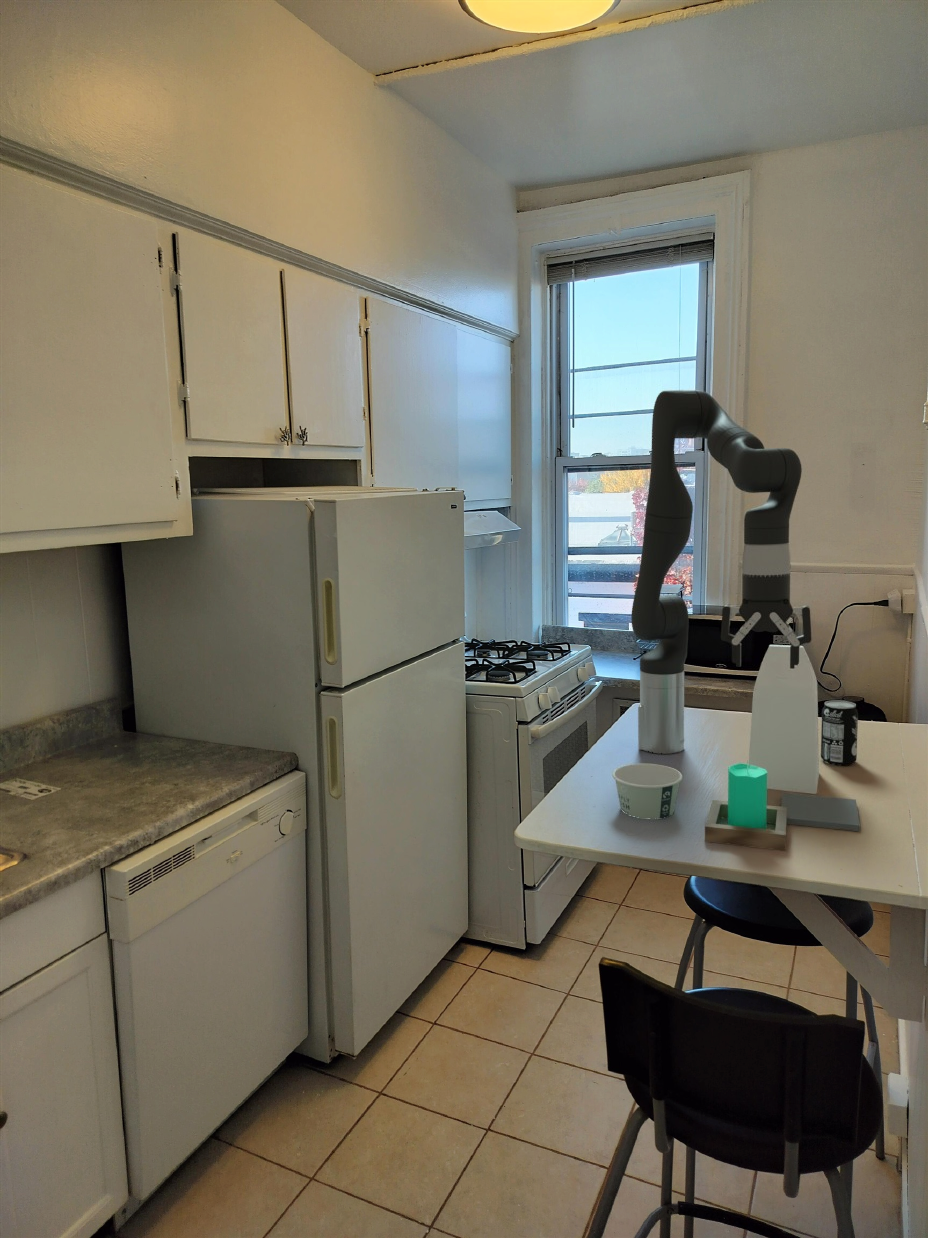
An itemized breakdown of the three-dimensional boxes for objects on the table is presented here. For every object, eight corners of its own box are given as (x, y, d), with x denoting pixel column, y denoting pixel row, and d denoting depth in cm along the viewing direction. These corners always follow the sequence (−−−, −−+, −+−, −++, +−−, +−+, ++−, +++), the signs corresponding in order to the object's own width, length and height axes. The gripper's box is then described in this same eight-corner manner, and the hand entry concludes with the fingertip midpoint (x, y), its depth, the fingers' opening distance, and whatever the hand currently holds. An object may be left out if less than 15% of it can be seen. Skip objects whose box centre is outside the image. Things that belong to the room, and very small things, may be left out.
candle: (721, 825, 140) (722, 756, 139) (756, 823, 141) (757, 753, 139) (736, 840, 134) (737, 767, 133) (772, 837, 135) (774, 765, 133)
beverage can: (849, 756, 172) (851, 699, 171) (861, 767, 166) (863, 707, 164) (816, 756, 173) (817, 699, 171) (826, 767, 167) (828, 708, 165)
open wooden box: (704, 841, 134) (704, 826, 134) (712, 813, 145) (712, 800, 145) (785, 850, 130) (785, 835, 130) (786, 821, 141) (787, 807, 141)
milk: (819, 773, 163) (822, 641, 159) (816, 794, 153) (819, 653, 149) (753, 767, 168) (755, 639, 164) (747, 786, 158) (748, 650, 154)
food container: (599, 804, 152) (599, 769, 151) (655, 793, 156) (654, 759, 155) (638, 828, 141) (638, 790, 140) (696, 815, 145) (696, 778, 145)
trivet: (780, 823, 140) (780, 817, 140) (782, 798, 151) (782, 792, 151) (859, 831, 136) (859, 825, 136) (855, 805, 147) (855, 799, 147)
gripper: (719, 573, 139) (719, 670, 141) (812, 572, 134) (811, 673, 136) (723, 569, 146) (722, 661, 148) (812, 568, 141) (810, 664, 143)
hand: (765, 666), depth 142 cm, fingers open, 8 cm apart
